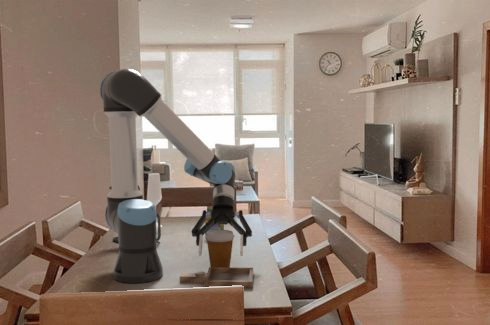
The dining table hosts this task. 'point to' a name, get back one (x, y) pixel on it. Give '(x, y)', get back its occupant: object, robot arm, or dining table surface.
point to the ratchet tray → (221, 277)
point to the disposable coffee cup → (220, 247)
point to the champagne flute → (154, 190)
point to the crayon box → (216, 226)
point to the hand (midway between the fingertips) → (220, 253)
